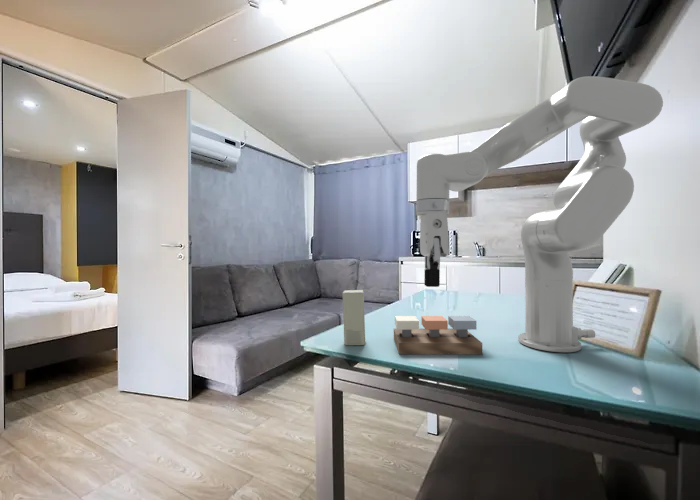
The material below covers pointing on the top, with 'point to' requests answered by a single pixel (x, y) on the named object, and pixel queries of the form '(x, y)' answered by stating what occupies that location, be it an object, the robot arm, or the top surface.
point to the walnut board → (436, 343)
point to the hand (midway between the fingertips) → (431, 286)
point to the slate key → (462, 324)
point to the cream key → (406, 324)
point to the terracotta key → (434, 324)
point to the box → (353, 317)
